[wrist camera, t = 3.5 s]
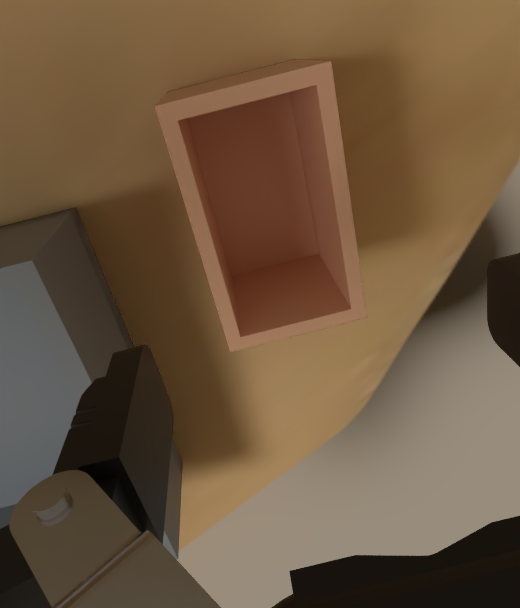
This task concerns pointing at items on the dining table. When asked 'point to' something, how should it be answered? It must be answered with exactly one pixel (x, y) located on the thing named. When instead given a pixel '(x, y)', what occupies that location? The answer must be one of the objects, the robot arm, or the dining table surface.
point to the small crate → (268, 199)
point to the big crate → (55, 352)
